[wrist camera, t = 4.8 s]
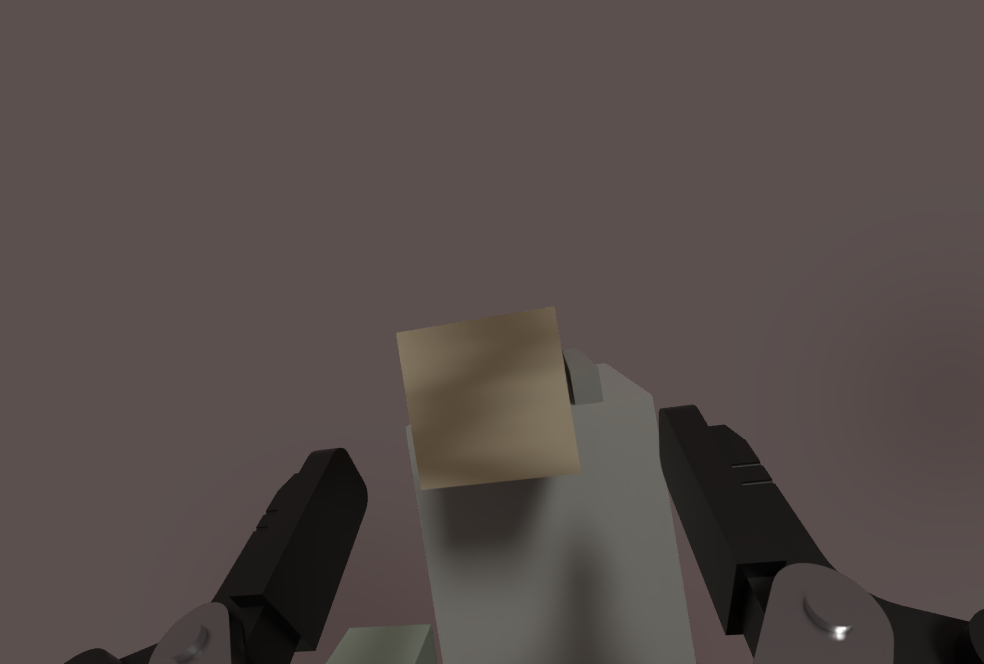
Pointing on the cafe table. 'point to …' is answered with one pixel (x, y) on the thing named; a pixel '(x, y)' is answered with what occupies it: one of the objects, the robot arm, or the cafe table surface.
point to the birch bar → (489, 400)
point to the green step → (386, 646)
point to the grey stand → (564, 546)
